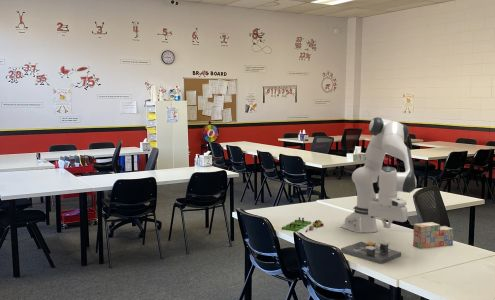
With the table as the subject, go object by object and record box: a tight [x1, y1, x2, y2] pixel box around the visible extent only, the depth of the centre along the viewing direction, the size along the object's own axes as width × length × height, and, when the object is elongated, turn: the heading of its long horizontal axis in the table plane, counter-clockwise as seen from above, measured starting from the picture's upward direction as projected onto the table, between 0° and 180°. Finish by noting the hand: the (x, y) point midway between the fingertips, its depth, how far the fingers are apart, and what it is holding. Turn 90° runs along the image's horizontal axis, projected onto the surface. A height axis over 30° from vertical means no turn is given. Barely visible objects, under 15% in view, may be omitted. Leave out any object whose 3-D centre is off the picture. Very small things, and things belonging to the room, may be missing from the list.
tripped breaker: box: [365, 241, 377, 247], centre depth 246 cm, size 4×4×3 cm
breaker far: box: [379, 240, 390, 250], centre depth 247 cm, size 4×4×3 cm
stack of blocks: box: [412, 221, 454, 250], centre depth 261 cm, size 21×6×12 cm, turn 109°
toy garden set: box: [281, 217, 324, 233], centre depth 298 cm, size 23×19×5 cm
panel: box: [340, 241, 402, 265], centre depth 246 cm, size 24×18×2 cm
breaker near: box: [366, 246, 376, 255], centre depth 239 cm, size 4×4×3 cm
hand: (386, 227), depth 238 cm, fingers closed
